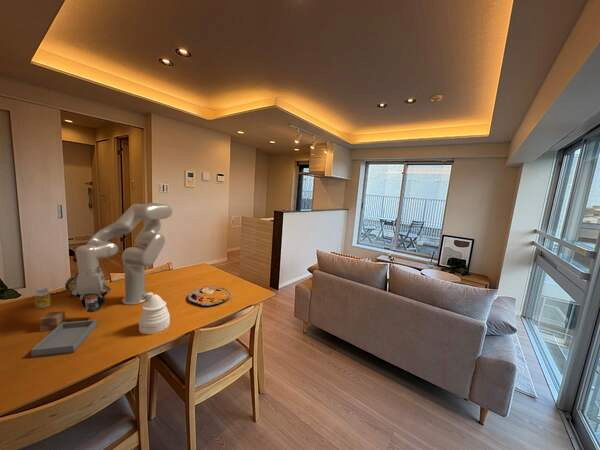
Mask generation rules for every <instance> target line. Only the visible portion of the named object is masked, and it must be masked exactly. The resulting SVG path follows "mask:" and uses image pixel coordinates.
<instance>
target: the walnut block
mask: <svg viewBox="0 0 600 450" xmlns="http://www.w3.org/2000/svg"><path fill="white" fill-rule="evenodd" d="M38 322H39V329H40V330H39V331H40V332H52V331H53V330H54V329H55V328H56V327H58V326H59V325H60V324H61V323H64V322H66V312H65V311H64V310H63V311H51V312H50V311H49V312H47V313H45V314H44V315H43V316H42V317H40V318H39V320H38Z"/></svg>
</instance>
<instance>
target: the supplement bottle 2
mask: <svg viewBox="0 0 600 450" xmlns="http://www.w3.org/2000/svg"><path fill="white" fill-rule="evenodd" d="M84 298H85V305H86V306H85V310H86V312H88V313H95V312H98V311H100V310H101V309H102V308H103V305H102V306H100V305H99V298H100V297H99V295H98V294H97V293H96V294H85V295H84Z"/></svg>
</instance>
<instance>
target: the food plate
mask: <svg viewBox="0 0 600 450" xmlns="http://www.w3.org/2000/svg"><path fill="white" fill-rule="evenodd" d="M211 289H216V290H215V291H221V290H219V289H222V290H225V291H227V292H228V293H229V296H228V297H227V298H226V299H225V300H224V299H222V300H224V301H221V300H219V301H220V302H219V301H218V303H216V302H214V303H215V304H214V303H213V302H211V303H212V304H211V303H204V302H203V303H204V304H203V303H201V304H200V303H197V302H195V301H196V300H199V301H203V300H204V299H205V297H206V295H204V294H208V295H209V294H212V293H213V292H214V290H211ZM198 293H203V294H201V295H198ZM226 294H227V293H225V294H224V295H223V296H225V295H226ZM231 296H232V293H231V291H229V290H228V289H227V288H223V287H218V286H206V285H205V286H203V287H200V288H198V289H194V290H192V291H191V292H189V294H188V295H187V299H188V301H189V302H192V303H194V304H197V305H201V306H212V305H216V304H221V303H222V302H223V303H224V302H225V301H227V300H228V299H230V298H231ZM207 299H210V300H212V301H214V300H213V299H215V298H213V299H212V298H207Z"/></svg>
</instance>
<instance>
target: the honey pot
mask: <svg viewBox="0 0 600 450" xmlns="http://www.w3.org/2000/svg"><path fill="white" fill-rule="evenodd" d="M147 296H148V299H147V300H146V301H145V303H144V304H142V306H141V309H142V311H141V313H140V317H139V319H138V330H139V331H140V332H141V333H148V334H149V333H155V332H159V331H162V330H164V329H165V328H167V327H168V326H169V327H170V325H171V319H170V312H169V310H168V307H167V302H166V301H165V300H163V298H162V297H161V296H160V295H158V294H154V292H150V293H149V292H148V293H147ZM169 324H170V325H169ZM169 327H168V328H169ZM168 328H167V329H168ZM139 331H138V332H139ZM140 332H139V333H140ZM141 333H140V334H141Z"/></svg>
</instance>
